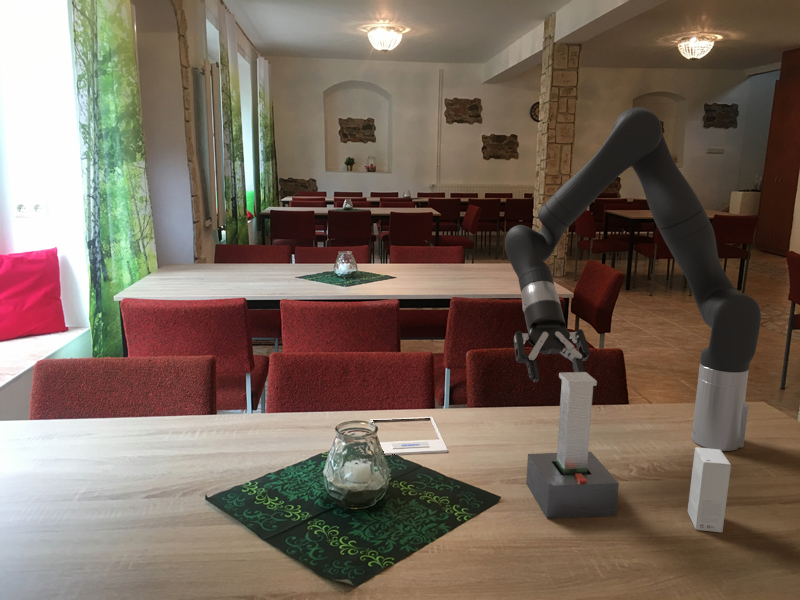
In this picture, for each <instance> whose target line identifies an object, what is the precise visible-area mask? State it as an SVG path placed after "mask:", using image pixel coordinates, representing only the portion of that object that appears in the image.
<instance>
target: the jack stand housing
mask: <svg viewBox="0 0 800 600" xmlns="http://www.w3.org/2000/svg"><path fill="white" fill-rule="evenodd" d="M556 458H557V452H550V453H549V452H547V453H546V452H545V453H544V452H543V453H527V463H526V465H527V467H526V483H525V484H526V486H527V487H528V489H529V490H530V492H531V494H532V496H533V498H534V499H535V502H537V504H538V506H539V508H540V510H541V511H542V512H543V515H544V516H545V519H548V520H549V519H563V518H564V519H568V518H570V519H572V517H573V518H594V517H596V518H597V517H615V516H617V510H618V509H617V507H618V497H619V496H618V495H619V485H620V482H619V481H618V480H617V479H616V477H614V475H612V474H611V473H610V471H609V470H608V468H606V467H605V466H604V465H603V464H602V462H601V461H600V460H599V459H598V458H597V456H595V454H594V453H593V452H592V451H588V461H587V468H588V471H587V474H581V473H580V474H575V475H564V474H563V473H562V471H561V470H560V469H559V467H558V466H557V465H556Z"/></svg>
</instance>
